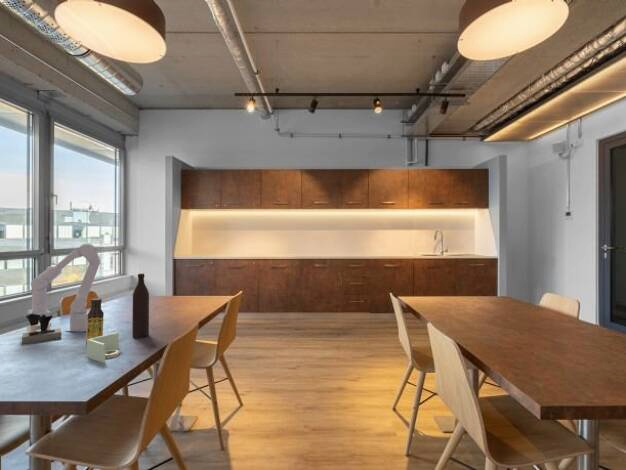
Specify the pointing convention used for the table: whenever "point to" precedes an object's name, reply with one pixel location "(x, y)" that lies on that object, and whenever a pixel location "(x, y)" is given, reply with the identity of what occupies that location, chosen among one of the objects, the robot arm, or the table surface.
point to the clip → (36, 328)
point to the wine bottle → (140, 309)
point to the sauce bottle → (95, 320)
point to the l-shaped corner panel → (103, 347)
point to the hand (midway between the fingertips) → (39, 329)
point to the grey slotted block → (41, 336)
